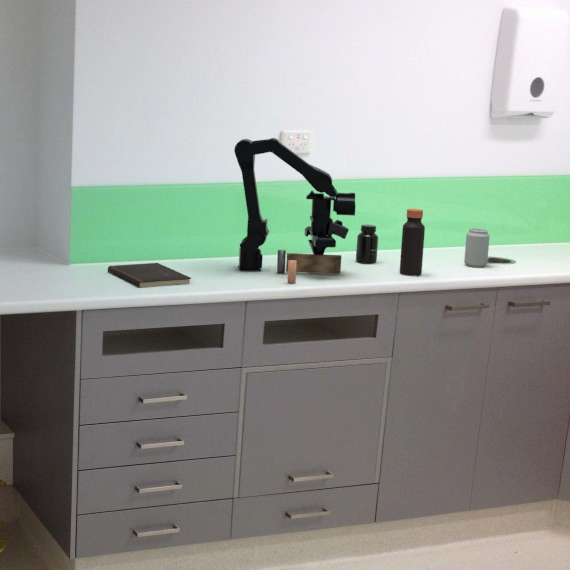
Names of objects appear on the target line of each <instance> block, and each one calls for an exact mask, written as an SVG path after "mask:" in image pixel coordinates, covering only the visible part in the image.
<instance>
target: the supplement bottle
mask: <svg viewBox="0 0 570 570" xmlns="http://www.w3.org/2000/svg"><path fill="white" fill-rule="evenodd" d="M376 232H377V226H376V225H373V224H361V227H360V232H359V233H358V234H357V237H356V250H355V251H356V252H355V261H356V262H357V263H359V264H367V265H369V264H370V265H373V264H376V263H377V259H378V247H379V236H378V234H376Z"/></svg>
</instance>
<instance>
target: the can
mask: <svg viewBox="0 0 570 570" xmlns="http://www.w3.org/2000/svg"><path fill="white" fill-rule="evenodd" d="M488 232H489V230H488V229H484V228H469V229H468V232H467V233H466V236H465V237H466V238H465V248H464V249H465V250H464V258H463V259H464V260H463V261H464V262H463V263H464V264H465V266H467V267H470V268H484V267H485V266H487V265H488V260H489V250H490V248H489V247H490V238H491V237H490V236H491V235H490V234H489V233H488Z"/></svg>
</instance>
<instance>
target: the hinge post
mask: <svg viewBox="0 0 570 570" xmlns="http://www.w3.org/2000/svg"><path fill="white" fill-rule="evenodd" d="M286 259H287V250H286V249H278V250H277V264H276V265H277V266H276V274H277V275H278V274H279V275H285V273H286Z"/></svg>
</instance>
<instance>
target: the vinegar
mask: <svg viewBox="0 0 570 570" xmlns="http://www.w3.org/2000/svg"><path fill="white" fill-rule="evenodd" d="M423 216H424V210H422V209H418V208H407V209H406V219H407V220H406V222H405V223H404V224H403V225H402V231H401V232H402V233H401V247H400V260H399V262H400V263H399V273H400V275H403V276H415V277H417V276H418V277H419V276H421V275H422V271H423V270H422V269H423V259H424V258H423V257H424V246H425V245H424V244H425V230H426V226H425V225H424V224H423V223H422V220H423Z"/></svg>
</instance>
